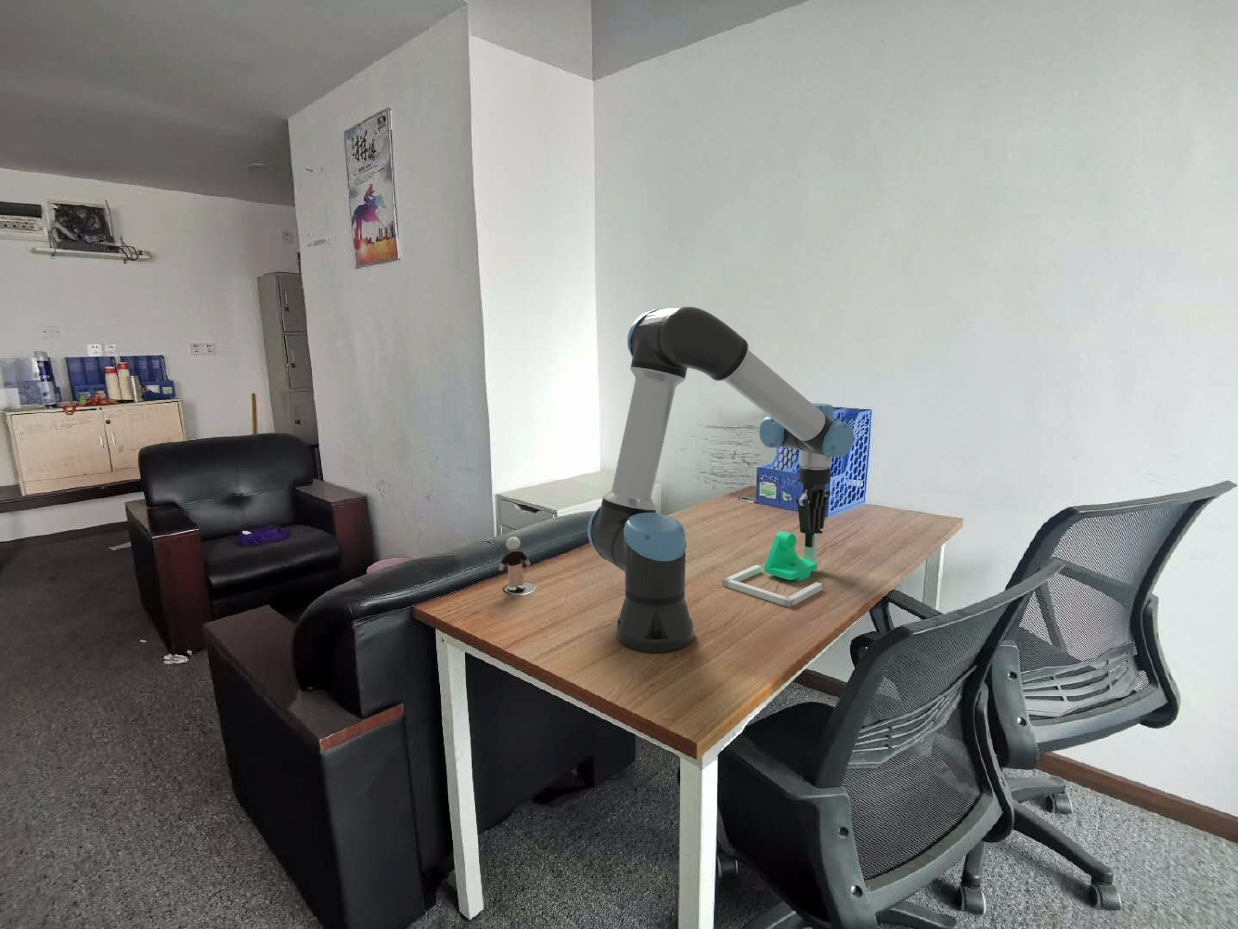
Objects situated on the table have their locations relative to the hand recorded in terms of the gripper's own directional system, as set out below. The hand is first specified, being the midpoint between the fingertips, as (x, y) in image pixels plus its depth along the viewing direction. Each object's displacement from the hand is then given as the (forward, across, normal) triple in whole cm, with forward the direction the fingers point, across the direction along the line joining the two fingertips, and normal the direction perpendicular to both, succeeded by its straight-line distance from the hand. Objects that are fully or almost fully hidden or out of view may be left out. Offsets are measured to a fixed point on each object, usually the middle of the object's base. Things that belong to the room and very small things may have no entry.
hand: (810, 558), depth 158 cm
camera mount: (+3, -7, +1) cm, 7 cm away
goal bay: (+3, -18, 0) cm, 18 cm away
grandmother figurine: (+3, -60, +43) cm, 74 cm away
